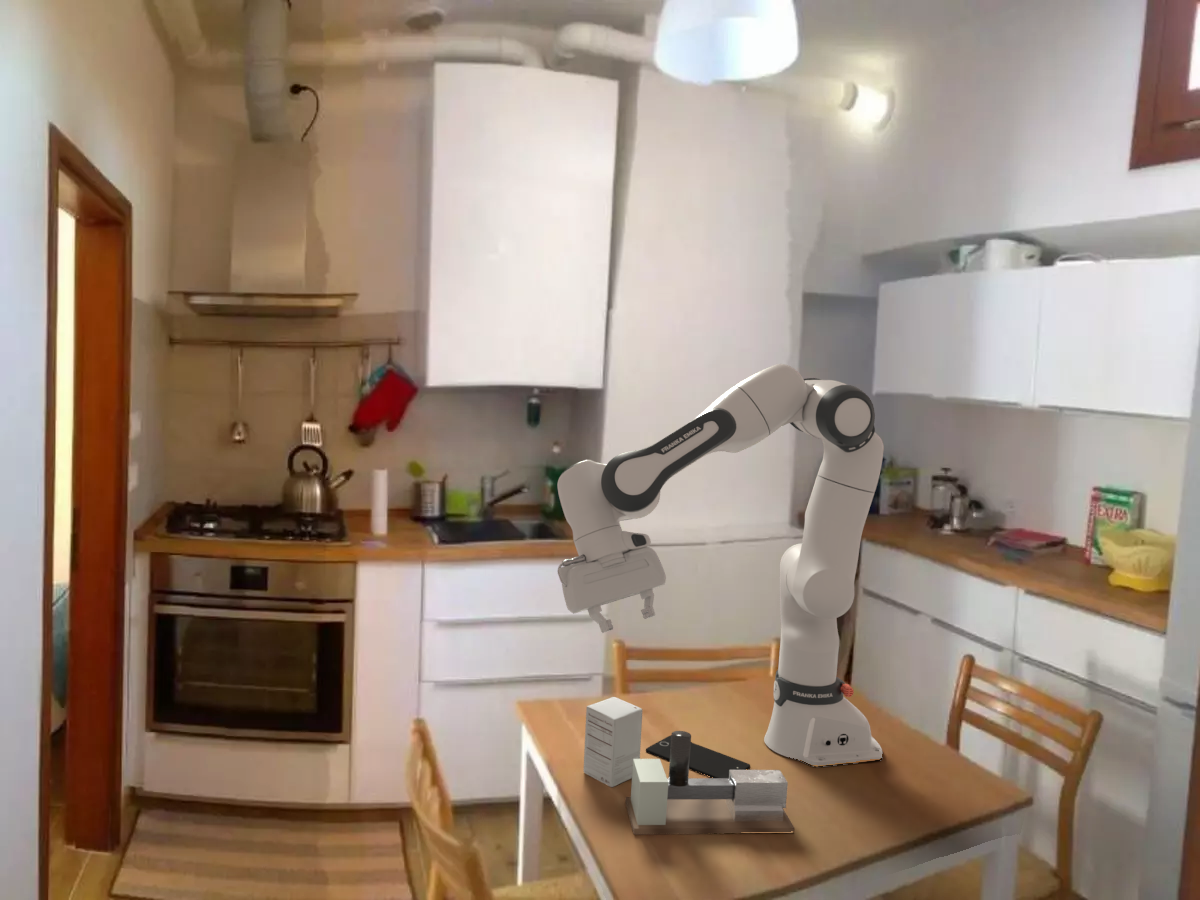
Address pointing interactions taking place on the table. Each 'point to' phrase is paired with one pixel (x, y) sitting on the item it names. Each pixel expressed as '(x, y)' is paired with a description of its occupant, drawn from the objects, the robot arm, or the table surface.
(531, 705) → the table surface
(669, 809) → the base board
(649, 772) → the socket
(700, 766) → the cell phone
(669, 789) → the slide bolt
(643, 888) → the table surface
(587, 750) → the supplement box
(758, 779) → the sleeve
